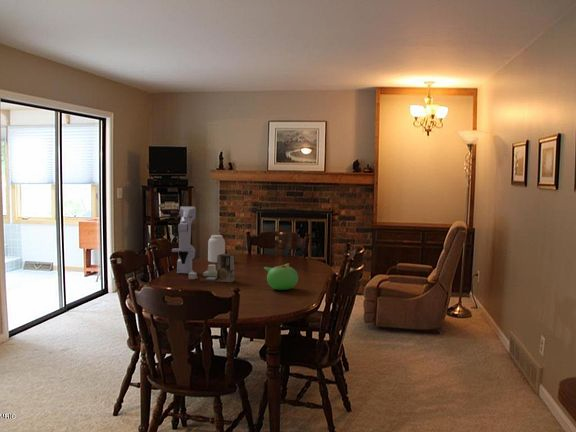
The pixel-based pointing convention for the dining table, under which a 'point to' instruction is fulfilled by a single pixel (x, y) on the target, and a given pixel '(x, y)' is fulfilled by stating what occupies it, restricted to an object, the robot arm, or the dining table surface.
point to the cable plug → (192, 275)
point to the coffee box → (225, 268)
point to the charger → (211, 268)
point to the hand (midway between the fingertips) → (183, 263)
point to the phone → (211, 278)
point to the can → (215, 247)
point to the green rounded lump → (281, 277)
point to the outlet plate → (209, 274)
